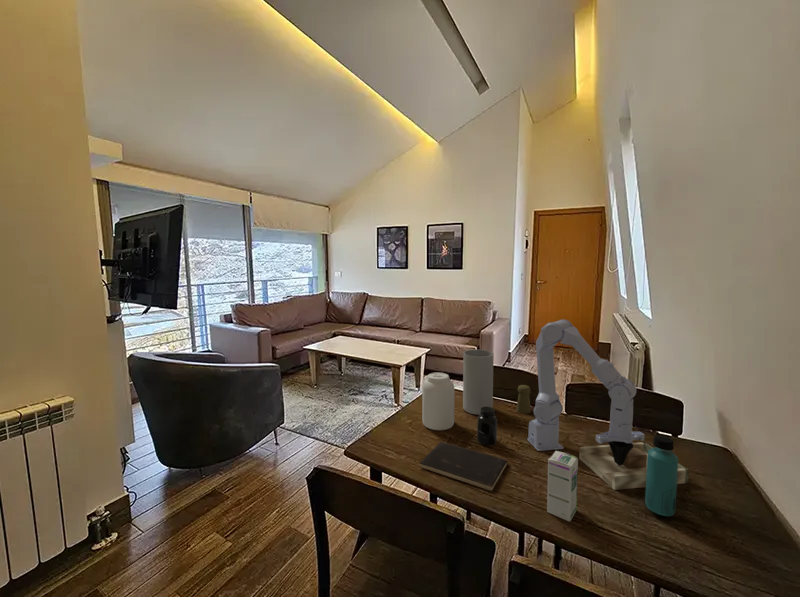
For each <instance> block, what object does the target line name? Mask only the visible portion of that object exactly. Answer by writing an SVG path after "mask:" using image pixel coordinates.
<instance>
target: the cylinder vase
mask: <svg viewBox="0 0 800 597" xmlns="http://www.w3.org/2000/svg"><path fill="white" fill-rule="evenodd" d="M494 356H495V355H494V352H492V351H490V350H486V349H467V350H464V351H463V357H462V358H463V361H462V362H463V363H462V364H463V367H462V368H463V369H462V370H463V371H462V372H463V375H462V376H463V377H462V381H463V383H462V387H463V388H462V408H463V410H464V411H465V412H466V413H468V414H472V415H477V416H479V415H480V412H481V408H482V407H491V408H493V409H494V407H493V405H494V404H493V403H494V399H493V398H494V397H493V396H494V395H493V394H494Z"/></svg>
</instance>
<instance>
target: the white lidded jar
mask: <svg viewBox="0 0 800 597" xmlns="http://www.w3.org/2000/svg"><path fill="white" fill-rule="evenodd" d="M421 393H422V394H421V395H422V396H421V399H422V400H421V401H422V409H421V410H422V411H421V412H422V418H421V419H422V420H421V421H422V424H423V426H424V427H426V428H428V429H430V430H432V431H433V430H434V431H445V430H450V429H451V428H452V427H454V424H455V385H454V383H453V381H452V380H451V379H450V376H449V374H447V373H444V372H440V371H439V372H431V373H429V374H427V377H426V379H425V380H424V381H423V383H422V392H421Z"/></svg>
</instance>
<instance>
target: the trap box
mask: <svg viewBox="0 0 800 597" xmlns="http://www.w3.org/2000/svg"><path fill="white" fill-rule="evenodd" d="M632 444H633V448H638V449H639V450H641V451H642V452H644V453H645V454H647V460H648V450H650V449H652V448H654V446H652V445H650V444H649V443H646V442H645V441H641V442H633V443H632ZM578 457H579V458H578V460H579V461H581V462H583V464H584V465H586V466H587V467H588V468H589V469H590V470H592V471H593V472H594V473H595V474H596V475H597V476H598V477H599V478H600V479H602V481H604V482H605V483H606V484H607V485H609V487H611V488H612V489H613V490H614V491H615V490H616V491H618V490H628V489H636V488H637V489H638V488H640V489H641V488H646V485H645V484H646V479H645V478H646V473H647V471H646V470H647V463H646V467H645V468H633V469H627V468H626V467H625V466H623V465H618V464H617V463H615V462H614V457H613V453H612V450H611V447H610V445H609V444H603V445H602V444H600V445H589V446H580V447H579V456H578ZM689 474H690V469H689V468H687V467H685V466H683V465H682V464H681V463H679V462H678V471H677V476H678V477H677V485H682V484H688V483H689V477H690V476H689Z"/></svg>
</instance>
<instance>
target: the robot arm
mask: <svg viewBox="0 0 800 597" xmlns="http://www.w3.org/2000/svg"><path fill="white" fill-rule="evenodd" d="M557 344H562V345H567V346H571V347H573V349H574V350H576V351H577V353H579V355H580V356H581V357H582V358H583V359H585V361H587V363H588V364H589V365H590V366H591V369H590V370H591V373H592V374H593V375H594V377H596V378H597V379H598V380H599V382H601V384H602V385H603V386H604V387H605V388H606V389H607V390H608V392H607V393H608V396H609V398H610V399H611V401H610V402H611V403H610V411H609V412H610V414H609V430H608V431H605V432H602V433H598V434H595V441H596V442H597V443H598V444H600V445H602V444H603V443H607V444H608V445H610V447H611V450H612V453H613V457H614V462H615V463H617V464H618V465H623V463H624V460H625V458H626V456H627V454H628V453H629V451H630V450H631V449H632V448H633V444H632V443H634V441H638V440H639V441H641V442H645V434H644V433H643V432H641V431H633V422H634V421H633V419H634V397H635V396H636V394H637V386H636V385H635V384H634V382H633V381H632V380H630V379H627V377H625V376H624V375H622V374H621V373H620V372H619V371H618V369H616V367H615V364H614V363H613V361H611V362H610V361H609V360H608V359H604V358H600V356H599V354H597V352H596V351H595V350H594V349H593V348H592V347H591V346H590V344H589V343H588V342H587V341H586V340H585V338H584V337H583V336H582V335H581V334H580V332H579V329H578V328H577V327H575V326H574V325H573V324H572V322H571V321H570V320H568V319H565V318H564V319H559V320H556V321H553V322H548V323H546V324H545V325H544V326H542V327H541V328H540V333H539V335H538V337H537V339H536V342H535V352H536V366H537V380H538V395H537V397H536V399H535V404H534V405H535V406H534V408H533V416H534V419H531V420H529V423H528V434H527V435H528V437H527V439H526V440H527V441H528V442H529V443H530V444H531V445H532V447H534V449H536V450H537V452H538V451H539V452H541V451H542V452H543V451H554V450H555V451H557V450H564V446H563V445H562V444H560V443H559V440H560V439H559V436H560V435H559V434H560V415H561V414H562V413H563V410H564V408H563V404H562V403H561V400H560V395H559V394H558V392H556V375H555V359H554V347H555V346H556V345H557ZM603 445H604V444H603Z"/></svg>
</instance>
